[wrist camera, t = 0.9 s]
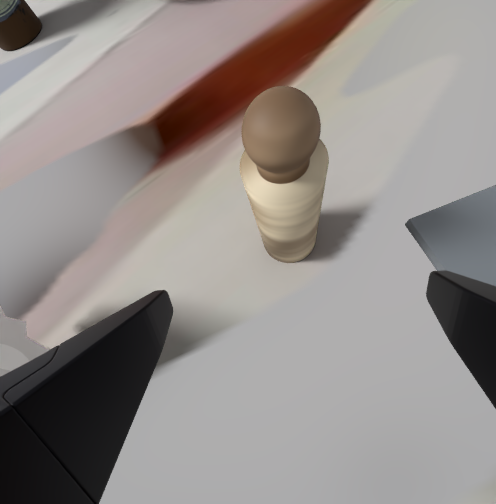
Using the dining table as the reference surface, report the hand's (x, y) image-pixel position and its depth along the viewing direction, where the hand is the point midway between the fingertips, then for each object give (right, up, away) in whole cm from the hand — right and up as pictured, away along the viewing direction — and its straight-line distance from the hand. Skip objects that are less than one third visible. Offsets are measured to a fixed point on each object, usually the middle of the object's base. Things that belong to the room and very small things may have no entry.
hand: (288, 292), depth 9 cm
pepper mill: (+3, +3, +16) cm, 16 cm away
